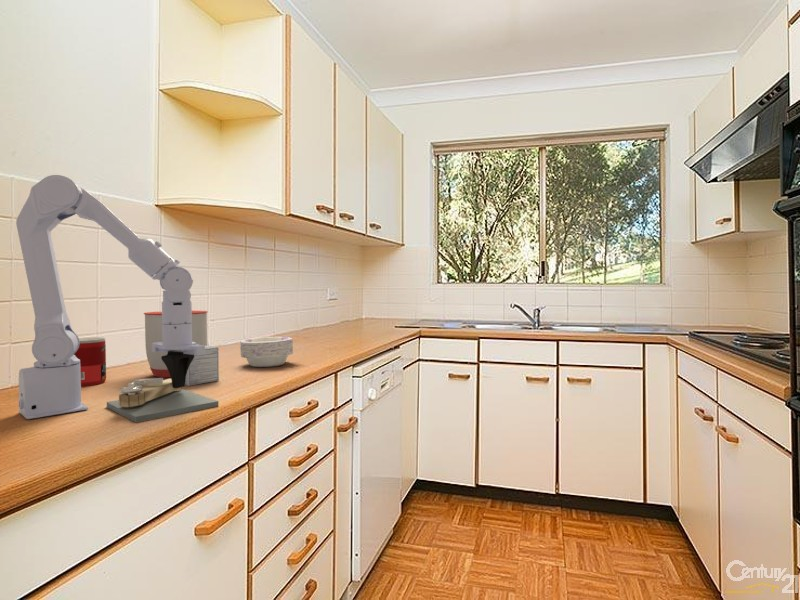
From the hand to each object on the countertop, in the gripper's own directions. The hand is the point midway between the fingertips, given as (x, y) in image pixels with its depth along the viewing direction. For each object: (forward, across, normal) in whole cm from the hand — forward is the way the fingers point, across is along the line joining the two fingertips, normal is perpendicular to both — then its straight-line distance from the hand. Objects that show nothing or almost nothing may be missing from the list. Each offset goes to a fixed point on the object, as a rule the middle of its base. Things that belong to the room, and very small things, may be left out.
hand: (178, 387), depth 100 cm
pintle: (+2, -2, +12) cm, 12 cm away
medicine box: (+2, +10, -13) cm, 17 cm away
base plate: (+2, -4, +6) cm, 8 cm away
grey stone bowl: (+2, +13, -40) cm, 42 cm away
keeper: (+2, +1, +6) cm, 7 cm away
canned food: (+2, +34, 0) cm, 34 cm away
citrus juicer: (+2, +25, -18) cm, 31 cm away
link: (+1, 0, +6) cm, 6 cm away
